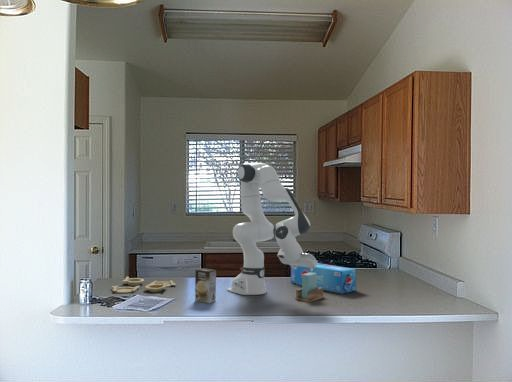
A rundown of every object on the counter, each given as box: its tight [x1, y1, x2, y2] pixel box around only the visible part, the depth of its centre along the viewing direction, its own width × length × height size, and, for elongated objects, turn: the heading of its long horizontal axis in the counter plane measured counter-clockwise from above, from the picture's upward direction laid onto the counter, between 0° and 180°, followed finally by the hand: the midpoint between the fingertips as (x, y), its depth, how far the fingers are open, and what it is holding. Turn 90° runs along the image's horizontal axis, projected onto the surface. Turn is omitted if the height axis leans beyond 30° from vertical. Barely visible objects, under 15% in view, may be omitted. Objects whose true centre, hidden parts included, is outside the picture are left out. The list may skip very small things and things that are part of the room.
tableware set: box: [111, 276, 177, 294], centre depth 275 cm, size 35×29×4 cm
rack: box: [294, 287, 325, 303], centre depth 253 cm, size 9×14×5 cm, turn 142°
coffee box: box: [194, 267, 217, 304], centre depth 245 cm, size 9×6×16 cm
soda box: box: [290, 262, 357, 294], centre depth 283 cm, size 40×14×13 cm, turn 41°
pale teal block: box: [301, 272, 317, 298], centre depth 253 cm, size 4×8×12 cm, turn 142°
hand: (303, 269), depth 248 cm, fingers open, 8 cm apart
